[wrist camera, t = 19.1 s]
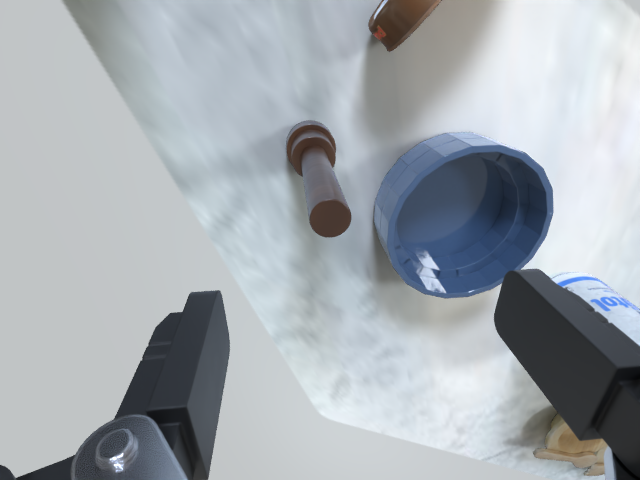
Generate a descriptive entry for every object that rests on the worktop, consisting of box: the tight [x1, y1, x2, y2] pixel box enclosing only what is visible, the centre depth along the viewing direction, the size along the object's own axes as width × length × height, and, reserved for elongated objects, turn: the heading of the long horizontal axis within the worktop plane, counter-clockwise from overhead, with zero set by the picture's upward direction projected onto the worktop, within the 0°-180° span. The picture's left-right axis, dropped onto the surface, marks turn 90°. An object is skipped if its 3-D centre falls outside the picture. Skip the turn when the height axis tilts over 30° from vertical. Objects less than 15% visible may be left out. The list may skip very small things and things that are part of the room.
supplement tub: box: [552, 272, 640, 346], centre depth 39 cm, size 10×10×15 cm
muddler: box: [286, 121, 351, 237], centre depth 26 cm, size 4×4×17 cm
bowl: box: [374, 132, 553, 298], centre depth 35 cm, size 15×15×6 cm
